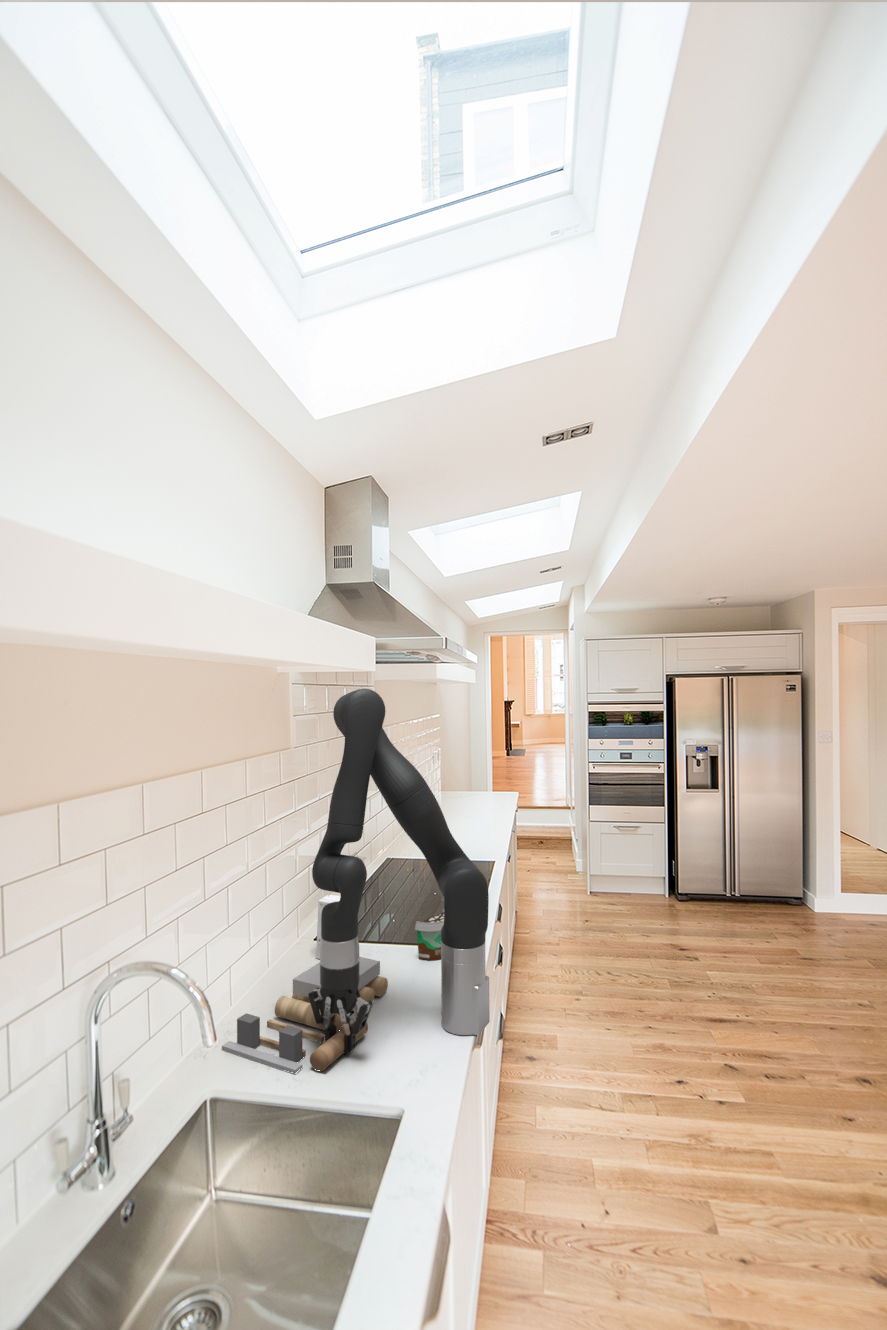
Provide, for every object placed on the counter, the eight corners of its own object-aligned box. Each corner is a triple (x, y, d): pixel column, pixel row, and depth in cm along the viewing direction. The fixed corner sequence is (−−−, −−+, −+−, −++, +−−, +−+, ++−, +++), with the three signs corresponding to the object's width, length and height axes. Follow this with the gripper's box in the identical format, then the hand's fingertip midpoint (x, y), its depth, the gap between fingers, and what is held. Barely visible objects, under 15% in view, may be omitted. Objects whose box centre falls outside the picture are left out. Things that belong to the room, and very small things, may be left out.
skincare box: (315, 959, 171) (315, 901, 171) (326, 950, 177) (326, 893, 177) (346, 963, 169) (345, 903, 169) (355, 953, 175) (355, 896, 175)
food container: (434, 967, 166) (434, 927, 166) (415, 961, 170) (414, 921, 170) (463, 951, 176) (462, 912, 176) (444, 945, 179) (444, 908, 180)
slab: (379, 974, 153) (379, 961, 153) (338, 1005, 138) (338, 990, 138) (336, 964, 158) (336, 951, 158) (292, 993, 144) (292, 979, 144)
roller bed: (387, 992, 153) (387, 974, 153) (305, 1059, 126) (305, 1037, 126) (334, 979, 160) (334, 962, 160) (245, 1040, 133) (245, 1019, 133)
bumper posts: (310, 1061, 125) (310, 1032, 125) (295, 1074, 121) (295, 1044, 121) (238, 1038, 133) (238, 1010, 134) (221, 1050, 129) (221, 1021, 130)
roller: (353, 1032, 135) (352, 1014, 135) (368, 1036, 134) (367, 1018, 134) (310, 1069, 123) (309, 1049, 123) (326, 1073, 121) (325, 1053, 121)
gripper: (381, 958, 129) (381, 1048, 129) (321, 945, 135) (321, 1031, 135) (359, 973, 122) (360, 1069, 122) (298, 959, 128) (298, 1050, 128)
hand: (340, 1048), depth 128 cm, fingers closed on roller, 3 cm apart
